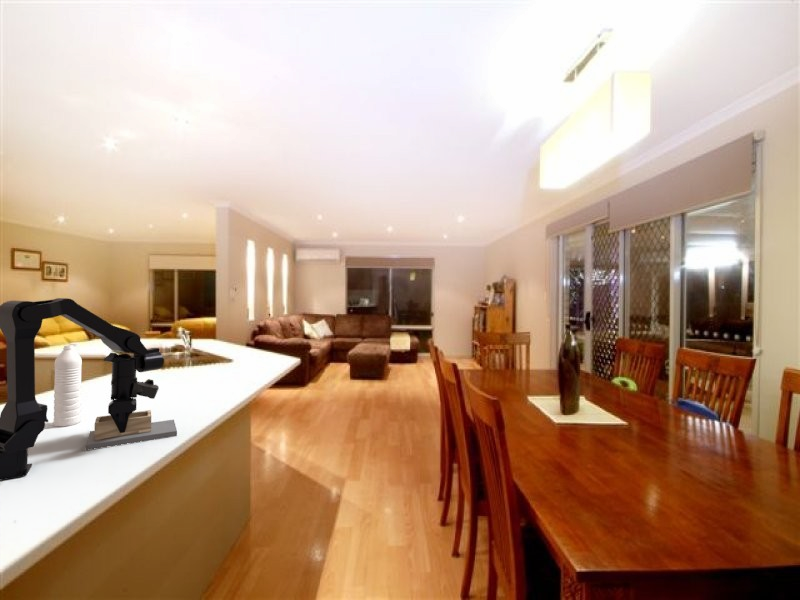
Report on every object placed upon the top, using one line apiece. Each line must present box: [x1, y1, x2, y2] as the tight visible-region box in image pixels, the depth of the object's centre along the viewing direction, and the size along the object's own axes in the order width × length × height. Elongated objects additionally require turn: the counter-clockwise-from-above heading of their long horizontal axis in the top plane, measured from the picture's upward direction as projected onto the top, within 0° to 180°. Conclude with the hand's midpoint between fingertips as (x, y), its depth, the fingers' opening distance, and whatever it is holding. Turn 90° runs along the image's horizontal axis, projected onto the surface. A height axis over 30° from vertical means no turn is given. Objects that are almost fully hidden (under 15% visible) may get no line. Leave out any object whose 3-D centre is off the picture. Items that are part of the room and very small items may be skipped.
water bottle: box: [53, 342, 83, 428], centre depth 122 cm, size 9×6×25 cm
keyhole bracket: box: [94, 410, 152, 440], centre depth 111 cm, size 6×13×4 cm, turn 124°
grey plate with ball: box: [84, 419, 178, 451], centre depth 112 cm, size 12×21×4 cm, turn 124°
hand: (122, 429), depth 111 cm, fingers closed on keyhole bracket, 6 cm apart
